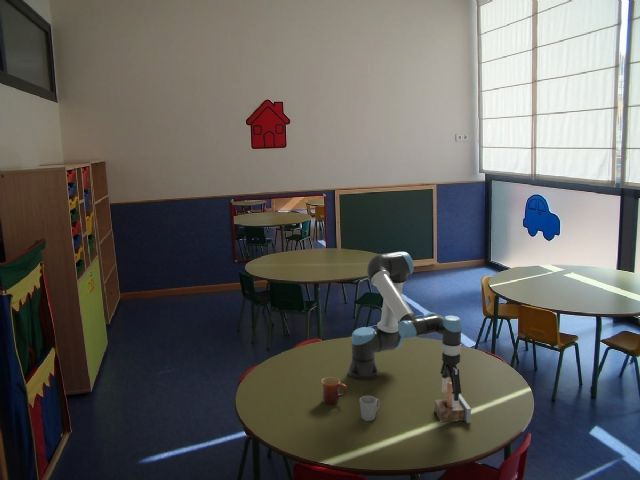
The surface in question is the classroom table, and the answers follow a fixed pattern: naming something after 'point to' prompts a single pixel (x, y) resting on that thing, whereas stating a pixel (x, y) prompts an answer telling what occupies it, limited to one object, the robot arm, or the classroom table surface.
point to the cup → (368, 407)
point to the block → (449, 411)
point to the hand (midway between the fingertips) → (450, 399)
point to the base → (465, 408)
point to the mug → (332, 390)
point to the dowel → (449, 395)
